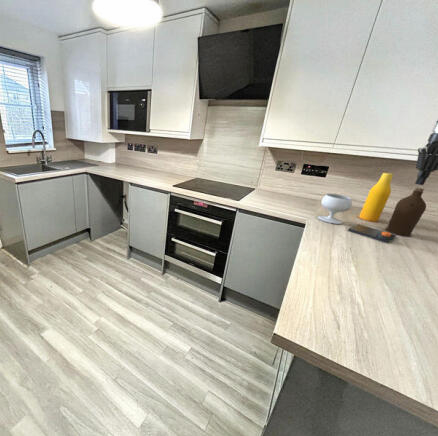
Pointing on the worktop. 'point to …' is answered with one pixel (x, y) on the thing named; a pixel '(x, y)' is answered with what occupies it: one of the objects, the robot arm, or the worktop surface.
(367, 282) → the worktop surface
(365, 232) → the scale
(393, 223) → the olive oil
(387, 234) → the tare button
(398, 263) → the worktop surface
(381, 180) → the beer bottle
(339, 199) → the chalice
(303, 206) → the worktop surface
